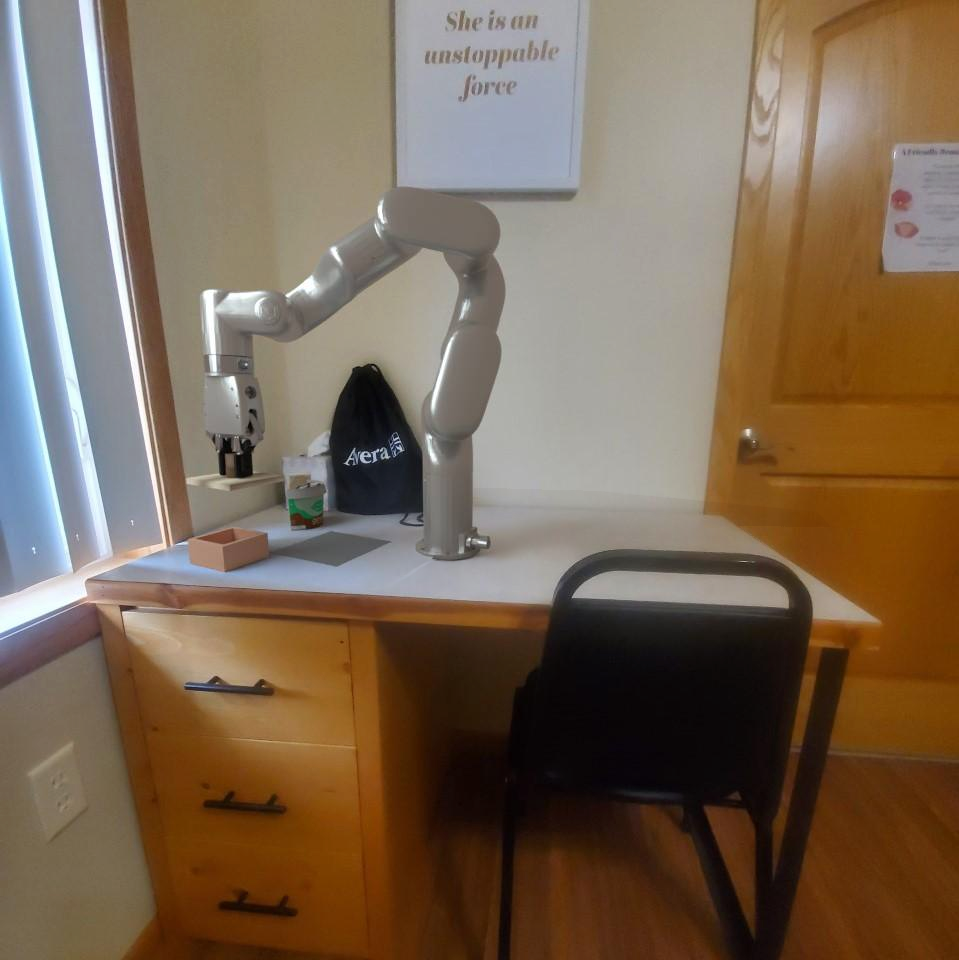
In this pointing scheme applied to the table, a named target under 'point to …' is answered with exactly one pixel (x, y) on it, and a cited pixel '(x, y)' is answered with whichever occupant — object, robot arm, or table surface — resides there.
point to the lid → (234, 478)
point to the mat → (331, 548)
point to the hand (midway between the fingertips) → (236, 474)
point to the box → (297, 480)
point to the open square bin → (228, 548)
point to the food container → (306, 505)
